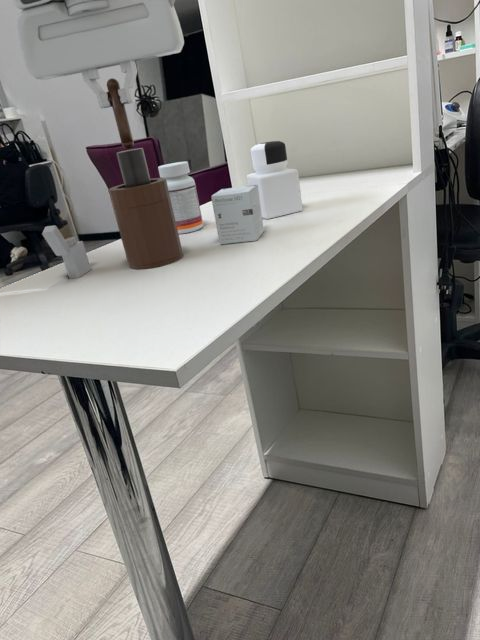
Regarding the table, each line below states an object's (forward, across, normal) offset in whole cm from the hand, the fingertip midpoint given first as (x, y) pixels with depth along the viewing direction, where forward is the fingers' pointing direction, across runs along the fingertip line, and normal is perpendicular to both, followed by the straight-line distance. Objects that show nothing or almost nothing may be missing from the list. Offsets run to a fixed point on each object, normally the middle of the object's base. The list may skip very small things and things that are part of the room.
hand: (118, 105), depth 71 cm
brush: (+11, 0, 0) cm, 11 cm away
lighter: (+21, +11, +4) cm, 24 cm away
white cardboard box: (+21, -12, -7) cm, 25 cm away
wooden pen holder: (+21, 0, 0) cm, 21 cm away
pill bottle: (+21, 0, -19) cm, 28 cm away
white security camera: (+21, -16, -23) cm, 35 cm away
